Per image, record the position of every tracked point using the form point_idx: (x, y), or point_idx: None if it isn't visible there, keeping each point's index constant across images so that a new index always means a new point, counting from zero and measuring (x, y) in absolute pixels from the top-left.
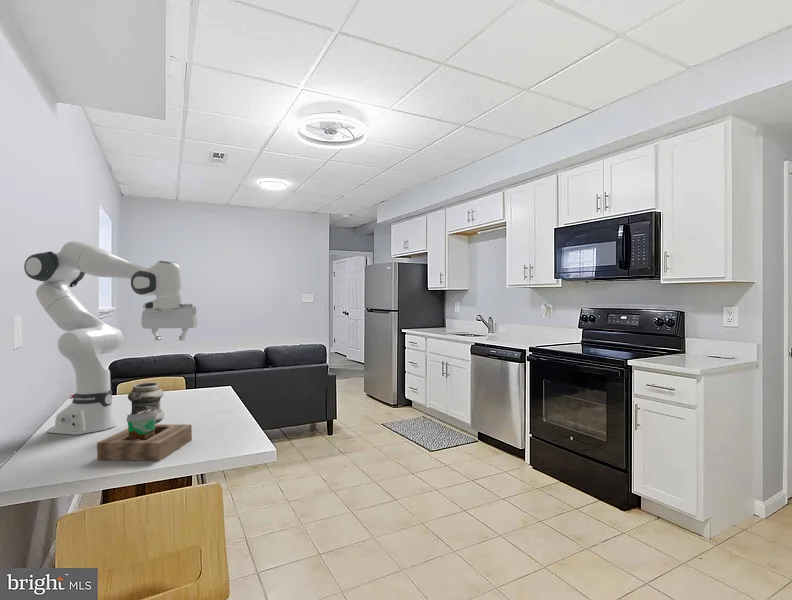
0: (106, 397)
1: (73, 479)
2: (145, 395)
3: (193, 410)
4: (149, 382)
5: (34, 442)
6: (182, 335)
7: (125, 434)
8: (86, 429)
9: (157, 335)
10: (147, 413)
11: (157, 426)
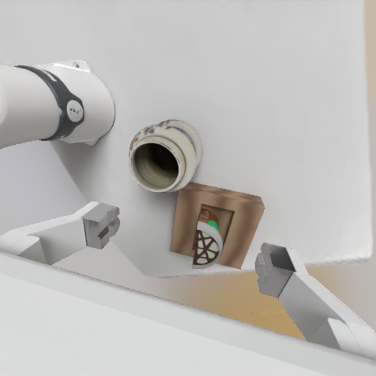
0: (72, 118)
1: (180, 272)
2: (173, 191)
3: None
4: (149, 142)
5: (67, 166)
6: (291, 303)
7: (186, 231)
8: (94, 138)
9: (83, 234)
10: (214, 262)
11: (214, 206)
